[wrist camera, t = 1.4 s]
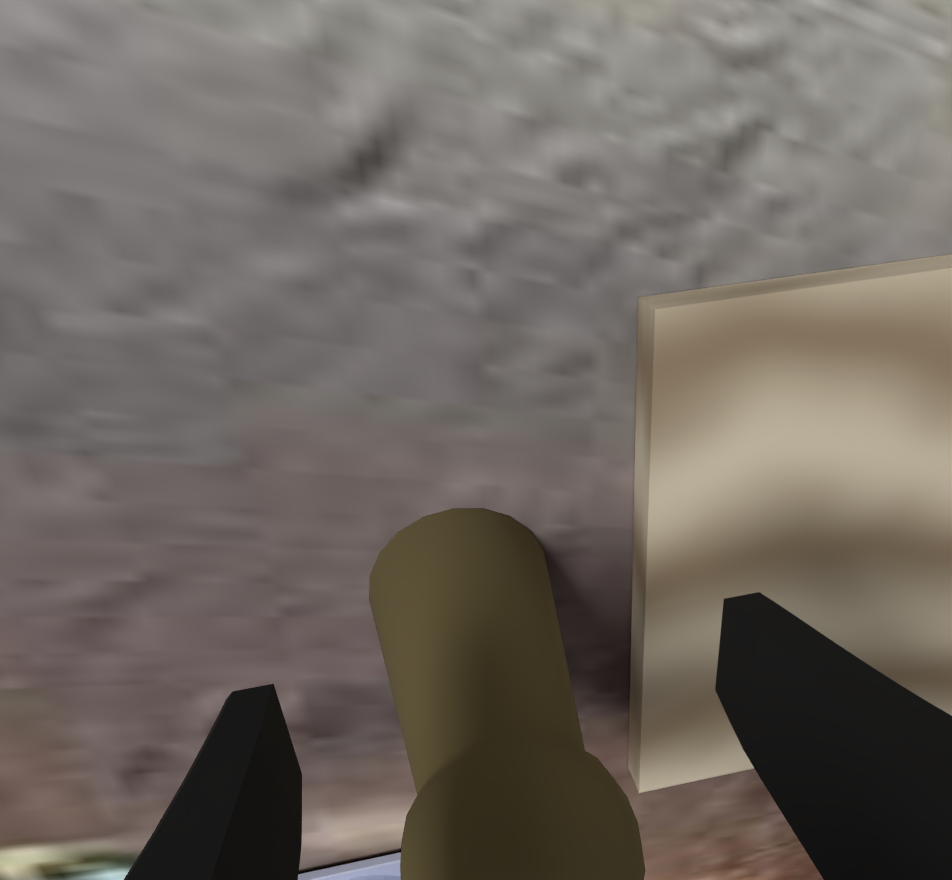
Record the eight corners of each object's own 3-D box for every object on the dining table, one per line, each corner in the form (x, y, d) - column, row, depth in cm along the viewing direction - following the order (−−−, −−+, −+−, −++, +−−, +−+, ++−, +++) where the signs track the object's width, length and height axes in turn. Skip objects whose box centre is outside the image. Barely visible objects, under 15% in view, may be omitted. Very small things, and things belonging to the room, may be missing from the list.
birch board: (936, 702, 30) (957, 724, 29) (628, 767, 29) (639, 792, 28) (1082, 236, 21) (1121, 244, 20) (638, 297, 19) (655, 309, 18)
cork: (380, 666, 24) (402, 1056, 14) (355, 522, 21) (361, 886, 12) (549, 637, 25) (679, 991, 15) (547, 495, 22) (703, 816, 12)
